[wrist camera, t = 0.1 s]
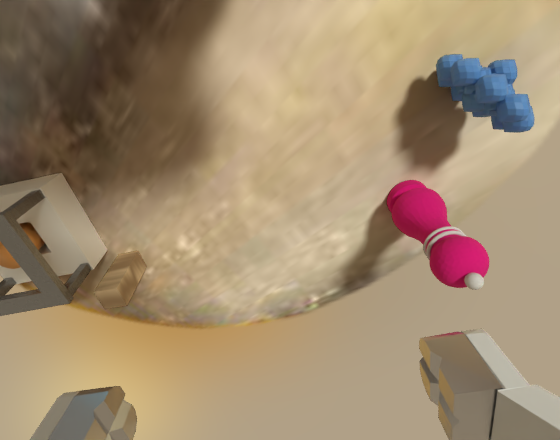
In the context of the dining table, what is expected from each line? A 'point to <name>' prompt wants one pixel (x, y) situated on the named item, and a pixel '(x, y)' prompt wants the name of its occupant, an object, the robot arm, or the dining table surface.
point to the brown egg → (6, 260)
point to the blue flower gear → (487, 91)
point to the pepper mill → (438, 235)
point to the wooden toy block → (120, 280)
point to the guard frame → (32, 265)
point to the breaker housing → (55, 226)
